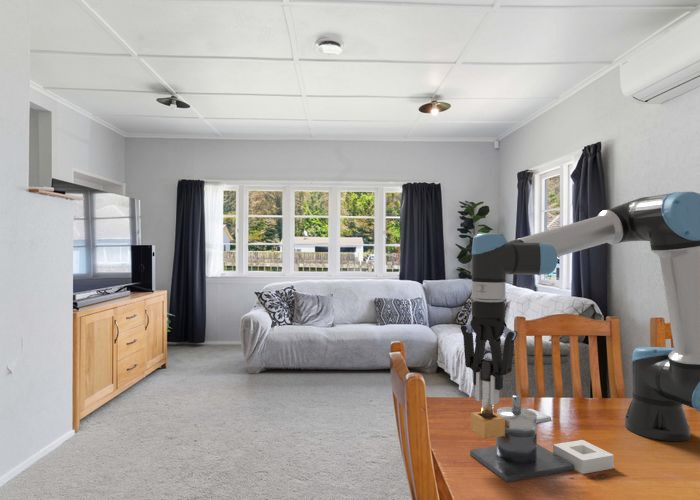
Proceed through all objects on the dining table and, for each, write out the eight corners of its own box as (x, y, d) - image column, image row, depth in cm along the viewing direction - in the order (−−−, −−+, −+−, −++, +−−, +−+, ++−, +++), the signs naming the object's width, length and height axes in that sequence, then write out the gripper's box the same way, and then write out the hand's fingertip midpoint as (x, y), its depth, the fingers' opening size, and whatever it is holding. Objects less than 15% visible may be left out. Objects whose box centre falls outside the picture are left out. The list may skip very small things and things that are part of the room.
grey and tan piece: (519, 420, 116) (519, 389, 116) (545, 433, 107) (545, 400, 107) (466, 427, 111) (466, 394, 111) (489, 441, 102) (489, 406, 102)
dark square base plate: (531, 445, 118) (531, 418, 118) (574, 470, 105) (574, 439, 105) (470, 454, 112) (470, 425, 112) (507, 482, 99) (507, 449, 99)
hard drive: (519, 422, 131) (551, 416, 136) (498, 413, 139) (529, 407, 144) (519, 428, 131) (551, 421, 136) (498, 418, 139) (529, 412, 144)
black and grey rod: (488, 417, 109) (489, 358, 109) (496, 422, 107) (497, 361, 107) (477, 419, 108) (478, 359, 108) (485, 423, 106) (486, 362, 106)
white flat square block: (582, 451, 114) (582, 439, 114) (613, 468, 106) (613, 455, 106) (553, 456, 112) (553, 444, 112) (582, 473, 103) (582, 460, 103)
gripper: (449, 298, 111) (448, 397, 110) (514, 304, 99) (513, 414, 99) (466, 296, 116) (465, 390, 116) (529, 301, 105) (528, 405, 105)
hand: (487, 401), depth 108 cm, fingers closed on black and grey rod, 3 cm apart
